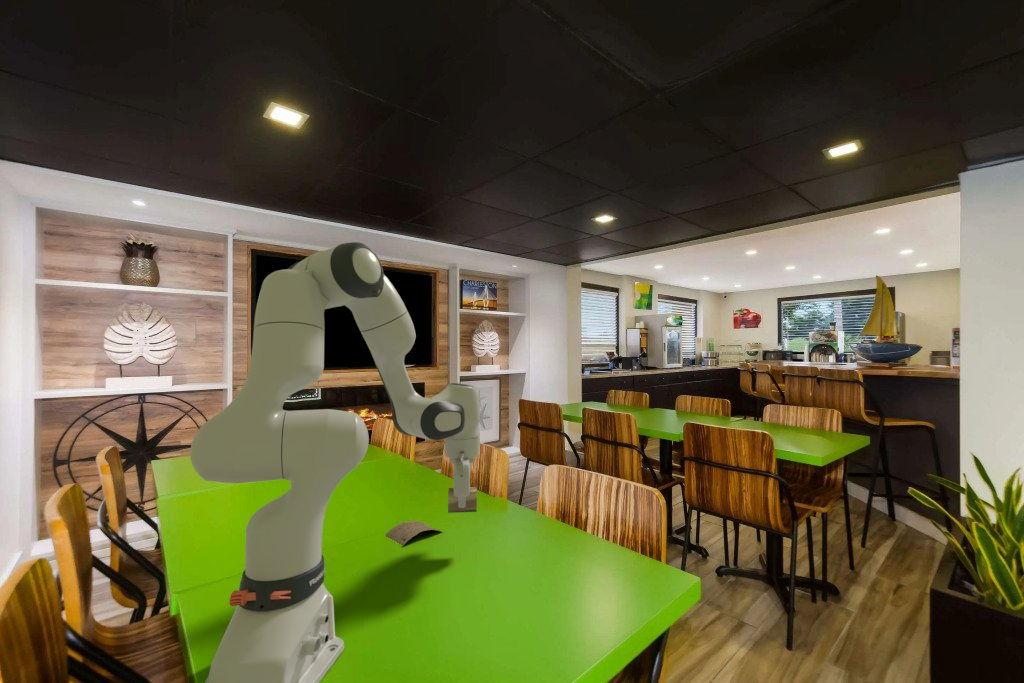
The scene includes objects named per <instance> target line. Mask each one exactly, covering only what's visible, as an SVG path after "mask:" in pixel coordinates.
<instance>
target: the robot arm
mask: <svg viewBox="0 0 1024 683" xmlns="http://www.w3.org/2000/svg"><path fill="white" fill-rule="evenodd" d="M382 265H383V264H382V263H381V261H380V258H379V256H378V255H377V254H376V253H375V252H374V251H373V249H371V248H370V247H368V245H366V244H364V243H362V242H357V241H354V242H345V243H340V244H339V245H336V246H335V247H332V248H327V249H325V250H322V251H317V252H316V253H313V254H311V255H308V256H307V257H305V258H304V259H302V260H301V261H297V262H295V263H293V264H291V265H290V266H289V267H288V268H287V269H280V270H279V269H278V270H275V271H273V272H271V273H270V274H268V275H266V277H265V278H264V279H263V282H262V284H261V288H260V291H259V296H258V299H257V302H256V308H255V314H254V323H253V334H252V335H253V336H252V337H253V339H252V348H251V357H250V363H249V364H250V365H249V369H248V373H247V376H246V379H245V381H244V383H243V385H242V387H241V389H240V390H239V391H238V394H237V395H236V396H235V397H234V398H233V399H232V401H231V402H230V403H229V404H228V405H227V406H226V407H225V408H224V409H223V410H221V411H220V412H219V413H218V414H216V415H215V416H213V417H211V418H209V419H208V420H207V421H206V422H205V423H203V425H201V427H200V428H199V429H197V431H196V433H195V435H194V437H193V439H192V441H191V446H190V462H191V464H192V467H193V470H195V472H196V473H197V475H198V476H199V477H200V478H202V480H204V481H207V482H217V483H225V484H226V483H229V484H245V483H257V482H258V483H259V482H269V481H278V480H279V481H280V480H285V481H289V482H290V488H289V489H288V490H287V491H286V492H284V494H282V495H280V496H278V497H277V498H275V499H273V500H271V501H269V502H268V503H266V504H264V505H263V506H261V507H259V508H258V509H257V510H256V511H255V512H254V513H252V515H251V517H249V518H250V519H249V520H248V522H247V525H246V528H245V550H244V553H245V558H244V559H245V560H244V562H245V564H244V567H245V568H244V570H243V572H242V574H241V578H240V582H239V585H238V590H236V589H235V590H233V591H232V592H231V594H230V597H229V601H228V602H229V603H228V604H229V606H230V607H235V610H234V612H233V614H232V616H231V619H230V621H229V623H228V625H227V627H226V629H225V632H224V634H223V636H222V638H221V641H220V643H219V646H218V647H217V649H216V652H215V654H214V656H213V660H212V662H211V664H210V668H209V674H208V676H207V678H206V680H205V681H204V683H320V682H321V680H323V678H324V677H325V675H326V674H327V672H328V671H329V670H330V669H331V667H332V666H333V664H334V663H335V662H336V660H338V658H339V656H340V655H341V654H342V652H344V649H345V642H344V640H343V639H342V638H341V637H338V636H336V627H335V626H336V625H335V608H334V607H335V606H334V597H333V595H332V593H330V591H329V590H328V589H327V588H326V586H325V584H324V581H325V571H326V564H325V557H324V555H323V554H322V547H323V546H322V544H323V543H322V542H323V530H324V529H323V528H324V520H325V512H326V508H327V507H328V503H329V501H330V498H331V497H332V494H333V492H334V491H335V490H336V488H337V487H338V485H339V484H340V483H341V481H342V480H343V479H344V478H345V477H346V476H347V475H348V474H349V473H351V472H352V471H353V470H355V469H356V468H357V466H359V464H361V462H362V461H363V460H364V458H365V456H366V455H367V451H368V448H369V443H370V438H369V431H368V428H367V425H366V423H365V421H364V420H363V418H362V417H361V416H360V415H359V414H358V413H356V412H352V411H347V410H346V411H345V410H340V409H339V410H338V409H332V408H331V409H329V408H326V409H325V408H324V409H302V410H299V409H298V410H285V409H284V408H283V406H284V404H285V402H286V400H287V399H288V398H289V397H290V396H292V395H294V394H296V393H297V392H299V391H301V390H305V389H306V388H308V387H309V386H311V385H313V384H315V383H316V382H317V381H318V380H319V379H320V377H321V376H322V375H323V373H324V368H325V310H327V309H332V308H337V307H338V308H339V307H342V306H345V307H346V308H348V309H349V311H351V313H352V315H353V318H354V320H355V323H356V325H357V327H358V329H359V331H360V333H361V336H362V337H363V339H364V342H366V343H365V344H366V345H367V347H368V349H369V352H370V354H371V356H372V358H373V359H372V360H373V361H374V365H375V367H376V369H377V372H378V375H379V376H380V379H381V381H382V384H383V387H384V390H385V391H386V395H387V396H388V399H389V401H390V406H391V415H392V416H391V417H392V418H391V419H392V422H393V426H394V427H395V429H396V430H397V431H398V432H399V433H401V434H402V435H405V436H408V437H417V438H420V439H424V440H425V439H426V440H429V441H441V440H444V456H445V457H446V458H449V463H450V464H452V465H453V464H454V465H453V488H454V496H455V497H458V507H459V508H465V507H466V496H469V493H470V487H471V486H470V481H471V479H470V478H471V477H470V474H471V472H470V471H471V464H473V463H474V462H475V461H476V457H478V456H480V455H481V434H480V429H479V424H480V420H481V419H480V418H481V408H480V405H481V404H480V397H479V396H480V395H479V392H478V390H477V388H476V387H475V386H474V385H471V384H466V383H465V384H464V383H458V382H457V383H456V382H451V383H448V384H447V386H446V387H445V388H444V389H443V390H442V391H441V392H439V393H437V394H436V395H434V396H431V397H423V396H422V395H420V394H419V393H418V392H416V390H415V388H414V386H413V384H412V381H411V379H410V376H409V373H408V371H407V368H406V366H405V358H406V355H407V354H408V353H410V351H411V350H412V349H413V346H414V344H415V343H416V342H415V341H416V338H417V335H416V329H415V326H414V323H413V322H414V321H413V320H412V317H411V315H410V313H409V311H408V309H407V307H406V305H405V303H404V301H403V299H402V298H401V296H400V294H399V293H398V291H397V289H396V288H395V286H394V285H393V283H392V282H391V281H390V279H389V278H388V277H387V276H386V275H385V273H384V268H383V266H382Z"/></svg>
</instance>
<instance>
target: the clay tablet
mask: <svg viewBox="0 0 1024 683" xmlns="http://www.w3.org/2000/svg"><path fill="white" fill-rule="evenodd" d="M431 530H432V531H438V532H442V531H441V530H439V529H436V528H434V527H432V526H430V525H428V524H426V523H424V522H421V521H417V520H409V521H403V522H401V523H398V524H397V525H395V526H394V527H392V528H391V529H390V530H389V531H388V532H387V533H386V534H385V535H386V537H388V538H390V539H392V540H394V541H396V542H397V543H399V544H401V545H403V547H404V546H405V544H406V543H407V542H408V541H410V540H411V539H412V538H413V537H415V536H417V535H418V534H419V533H422V532H425V531H431Z"/></svg>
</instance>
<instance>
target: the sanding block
mask: <svg viewBox="0 0 1024 683" xmlns="http://www.w3.org/2000/svg"><path fill="white" fill-rule="evenodd" d="M477 490H478V489H477V486H472V487H471V486H470V493H469V496H466V507H465V508H459V507H458V497H455V496H454V487H449V488H448V491H447V513H448V514H449V513H450V514H452V513H453V514H455V513H477V507H478V506H477V505H478V501H477V499H478V495H477V494H478V492H477Z"/></svg>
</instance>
